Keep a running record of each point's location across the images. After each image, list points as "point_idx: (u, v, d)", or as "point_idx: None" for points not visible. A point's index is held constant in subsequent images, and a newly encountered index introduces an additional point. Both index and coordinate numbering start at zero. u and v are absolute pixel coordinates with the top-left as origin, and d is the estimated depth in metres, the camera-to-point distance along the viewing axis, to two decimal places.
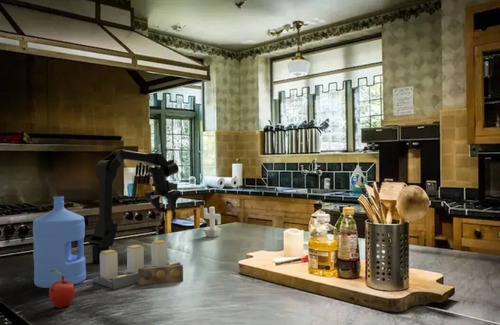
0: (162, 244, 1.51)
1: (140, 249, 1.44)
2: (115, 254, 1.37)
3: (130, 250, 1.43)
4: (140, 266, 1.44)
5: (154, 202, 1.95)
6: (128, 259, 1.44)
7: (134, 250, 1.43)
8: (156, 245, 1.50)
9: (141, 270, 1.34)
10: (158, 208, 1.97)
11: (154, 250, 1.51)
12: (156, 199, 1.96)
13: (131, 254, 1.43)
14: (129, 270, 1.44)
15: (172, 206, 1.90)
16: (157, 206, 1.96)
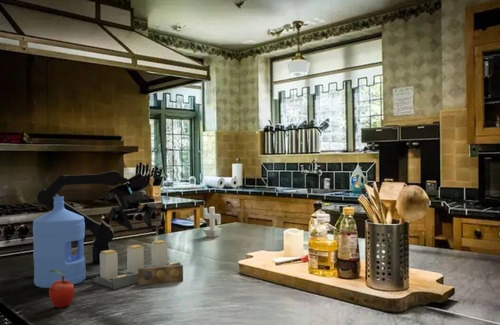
0: (162, 244, 1.51)
1: (140, 249, 1.44)
2: (115, 254, 1.37)
3: (130, 250, 1.43)
4: (140, 266, 1.44)
5: (144, 219, 1.67)
6: (128, 259, 1.44)
7: (134, 250, 1.43)
8: (156, 245, 1.50)
9: (141, 270, 1.34)
10: (148, 224, 1.65)
11: (154, 250, 1.51)
12: (145, 215, 1.67)
13: (131, 254, 1.43)
14: (129, 270, 1.44)
15: (124, 224, 1.59)
16: (147, 222, 1.66)
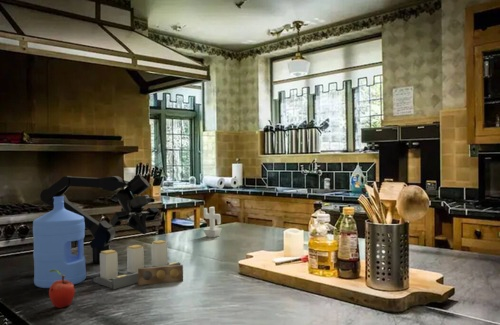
0: (162, 244, 1.51)
1: (140, 249, 1.44)
2: (115, 254, 1.37)
3: (130, 250, 1.43)
4: (140, 266, 1.44)
5: None
6: (128, 259, 1.44)
7: (134, 250, 1.43)
8: (156, 245, 1.50)
9: (141, 270, 1.34)
10: None
11: (154, 250, 1.51)
12: (139, 220, 1.62)
13: (131, 254, 1.43)
14: (129, 270, 1.44)
15: (137, 228, 1.59)
16: None
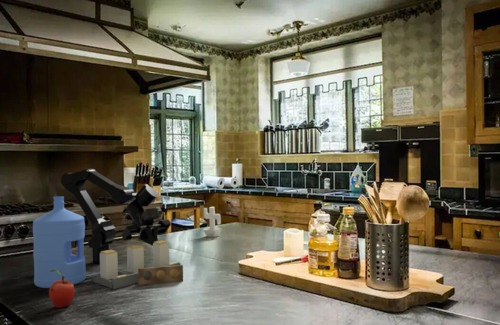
0: (164, 244, 1.51)
1: (140, 249, 1.44)
2: (115, 254, 1.37)
3: (130, 250, 1.43)
4: (140, 266, 1.44)
5: None
6: (128, 259, 1.44)
7: (134, 250, 1.43)
8: (158, 245, 1.50)
9: (141, 270, 1.34)
10: None
11: (156, 251, 1.51)
12: (151, 234, 1.57)
13: (131, 254, 1.43)
14: (129, 270, 1.44)
15: (149, 241, 1.55)
16: None
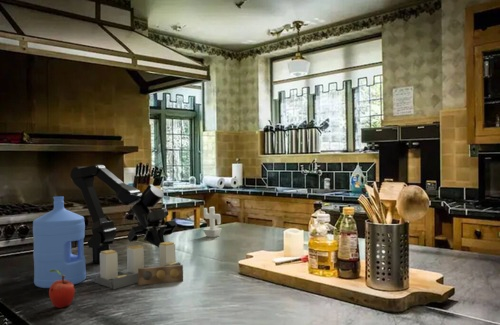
0: (170, 246, 1.48)
1: (140, 249, 1.44)
2: (115, 254, 1.37)
3: (130, 250, 1.43)
4: (140, 266, 1.44)
5: None
6: (128, 259, 1.44)
7: (134, 250, 1.43)
8: (164, 247, 1.47)
9: (141, 270, 1.34)
10: None
11: (162, 252, 1.48)
12: (157, 235, 1.54)
13: (131, 254, 1.43)
14: (129, 270, 1.44)
15: (155, 243, 1.52)
16: None
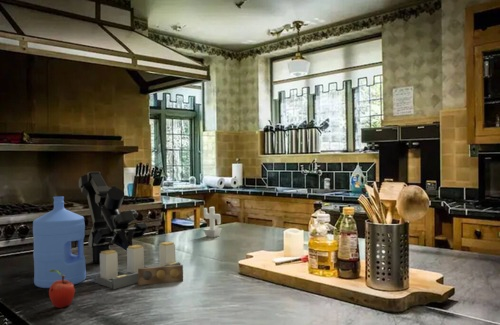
0: (170, 246, 1.48)
1: (140, 249, 1.44)
2: (115, 254, 1.37)
3: (130, 250, 1.43)
4: (140, 266, 1.44)
5: None
6: (128, 259, 1.44)
7: (134, 250, 1.43)
8: (164, 247, 1.47)
9: (141, 270, 1.34)
10: None
11: (162, 252, 1.48)
12: (125, 238, 1.50)
13: (131, 254, 1.43)
14: (129, 270, 1.44)
15: (123, 246, 1.47)
16: None
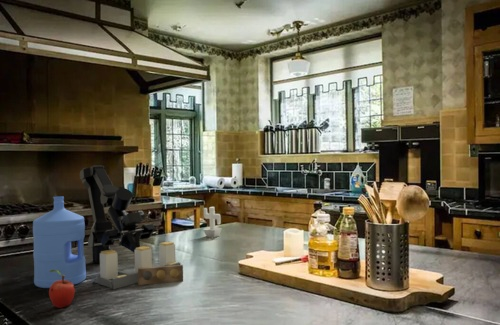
0: (170, 246, 1.48)
1: (148, 251, 1.41)
2: (115, 254, 1.37)
3: (138, 252, 1.40)
4: None
5: None
6: (136, 261, 1.41)
7: (142, 252, 1.40)
8: (164, 247, 1.47)
9: (141, 270, 1.34)
10: None
11: (162, 252, 1.48)
12: (133, 239, 1.47)
13: (138, 256, 1.40)
14: None
15: (130, 247, 1.45)
16: None
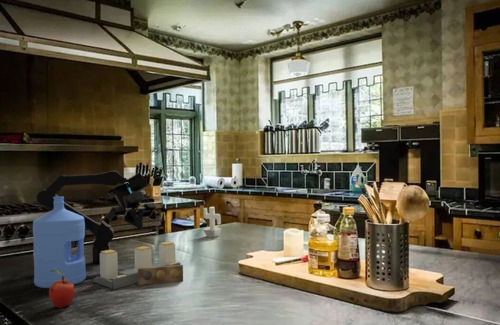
0: (170, 246, 1.48)
1: (148, 251, 1.41)
2: (115, 254, 1.37)
3: (138, 252, 1.40)
4: None
5: None
6: (136, 261, 1.41)
7: (142, 252, 1.40)
8: (164, 247, 1.47)
9: (141, 270, 1.34)
10: None
11: (162, 252, 1.48)
12: (136, 216, 1.64)
13: (138, 256, 1.40)
14: None
15: (133, 223, 1.62)
16: None
